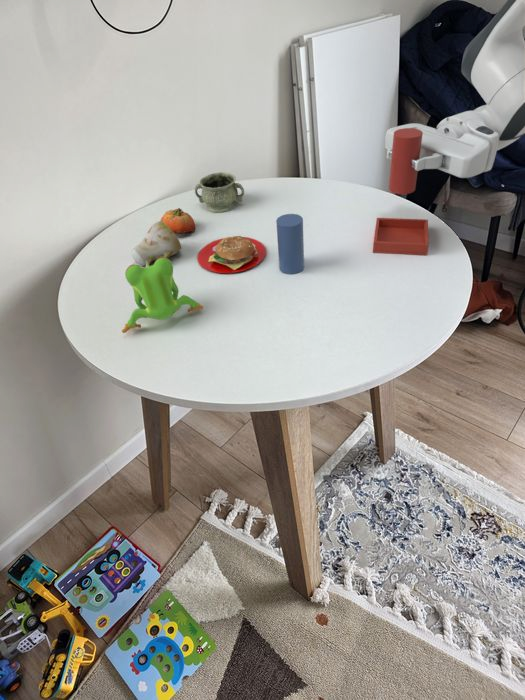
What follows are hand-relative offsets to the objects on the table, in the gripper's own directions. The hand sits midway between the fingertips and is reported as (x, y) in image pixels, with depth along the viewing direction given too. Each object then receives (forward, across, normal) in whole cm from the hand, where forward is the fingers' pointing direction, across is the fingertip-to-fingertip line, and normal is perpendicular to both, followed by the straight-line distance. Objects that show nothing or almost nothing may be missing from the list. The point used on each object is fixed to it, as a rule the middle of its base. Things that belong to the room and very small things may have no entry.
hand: (401, 160), depth 86 cm
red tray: (-2, 0, +17) cm, 17 cm away
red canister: (-1, 0, +6) cm, 6 cm away
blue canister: (+20, -6, +17) cm, 27 cm away
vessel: (+18, -39, +17) cm, 46 cm away
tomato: (+32, -34, +17) cm, 50 cm away
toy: (+47, -7, +17) cm, 51 cm away
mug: (+40, -26, +17) cm, 51 cm away
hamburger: (+28, -17, +17) cm, 37 cm away
